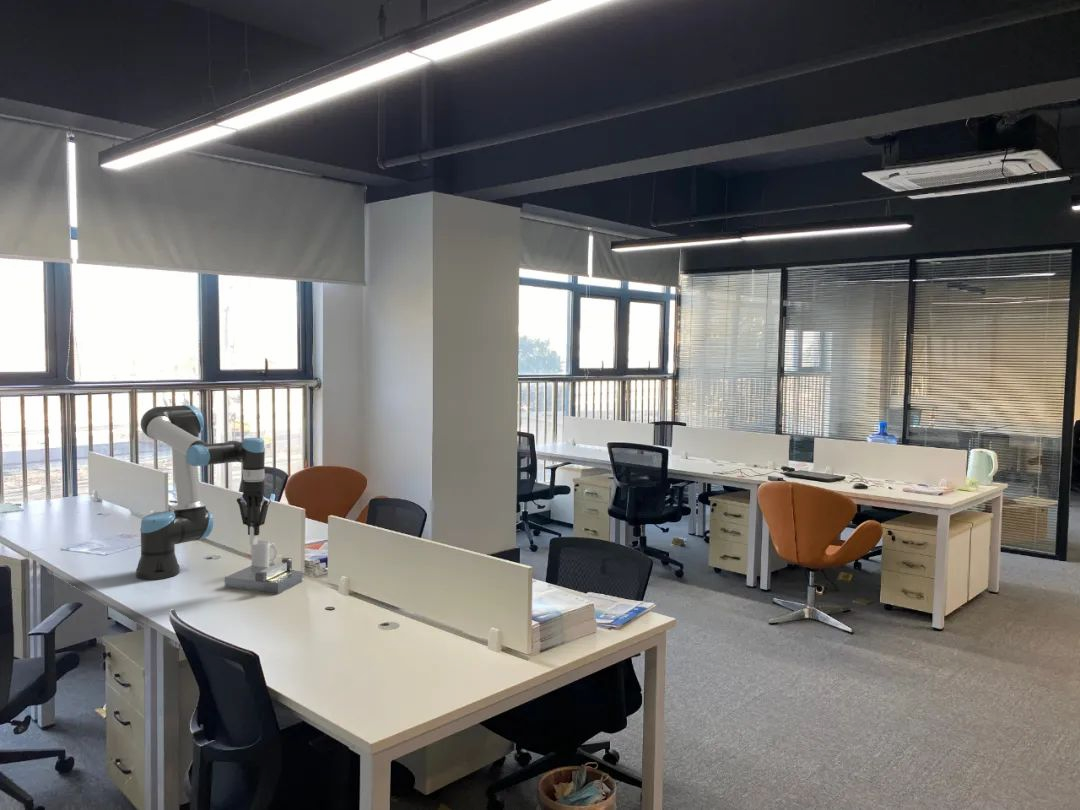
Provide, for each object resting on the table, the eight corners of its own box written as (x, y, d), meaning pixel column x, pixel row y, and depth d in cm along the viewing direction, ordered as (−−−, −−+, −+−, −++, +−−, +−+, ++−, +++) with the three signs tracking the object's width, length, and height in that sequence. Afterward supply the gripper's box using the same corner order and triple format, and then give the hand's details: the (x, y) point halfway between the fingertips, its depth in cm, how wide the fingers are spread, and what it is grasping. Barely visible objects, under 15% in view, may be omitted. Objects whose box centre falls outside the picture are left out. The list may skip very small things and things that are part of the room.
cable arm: (285, 567, 296) (285, 557, 296) (293, 568, 295) (293, 558, 295) (254, 581, 277) (255, 571, 277) (263, 582, 276) (263, 572, 276)
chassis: (224, 587, 283) (225, 576, 283) (251, 575, 299) (251, 564, 299) (278, 594, 278) (278, 582, 278) (302, 581, 294) (302, 570, 293)
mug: (255, 575, 299) (255, 545, 299) (248, 571, 304) (248, 541, 304) (280, 571, 306) (280, 541, 305) (272, 567, 311) (273, 538, 310)
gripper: (231, 480, 280) (231, 544, 282) (263, 483, 277) (263, 547, 279) (244, 477, 287) (244, 540, 289) (275, 479, 284) (275, 542, 286)
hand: (253, 543), depth 284 cm, fingers closed
